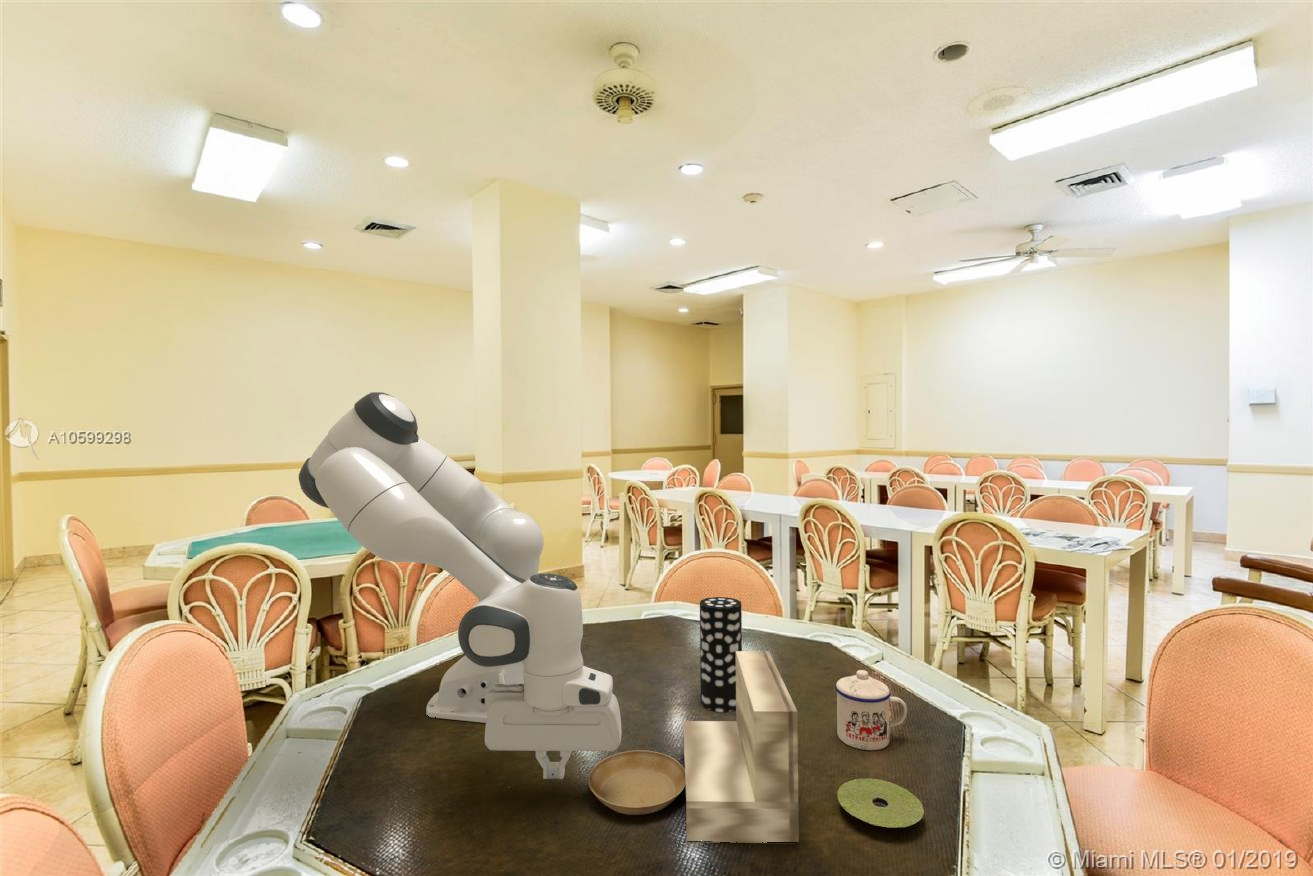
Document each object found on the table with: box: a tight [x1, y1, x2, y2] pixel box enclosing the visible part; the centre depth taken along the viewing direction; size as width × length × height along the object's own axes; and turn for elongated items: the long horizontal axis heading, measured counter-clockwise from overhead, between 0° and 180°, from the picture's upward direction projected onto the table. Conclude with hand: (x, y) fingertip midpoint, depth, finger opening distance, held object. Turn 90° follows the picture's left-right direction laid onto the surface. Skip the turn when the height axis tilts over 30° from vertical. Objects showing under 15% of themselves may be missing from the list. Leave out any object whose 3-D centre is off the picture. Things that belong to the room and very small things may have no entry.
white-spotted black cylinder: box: [699, 596, 743, 713], centre depth 117 cm, size 8×8×20 cm
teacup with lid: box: [835, 669, 908, 751], centre depth 102 cm, size 12×9×12 cm
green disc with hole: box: [836, 777, 925, 828], centre depth 81 cm, size 11×11×2 cm
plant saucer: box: [587, 749, 686, 816], centre depth 87 cm, size 15×15×3 cm
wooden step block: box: [682, 650, 800, 844], centre depth 87 cm, size 14×22×17 cm, turn 179°
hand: (554, 777), depth 88 cm, fingers closed
